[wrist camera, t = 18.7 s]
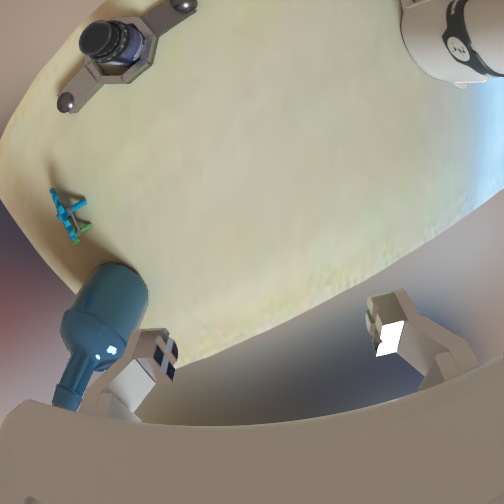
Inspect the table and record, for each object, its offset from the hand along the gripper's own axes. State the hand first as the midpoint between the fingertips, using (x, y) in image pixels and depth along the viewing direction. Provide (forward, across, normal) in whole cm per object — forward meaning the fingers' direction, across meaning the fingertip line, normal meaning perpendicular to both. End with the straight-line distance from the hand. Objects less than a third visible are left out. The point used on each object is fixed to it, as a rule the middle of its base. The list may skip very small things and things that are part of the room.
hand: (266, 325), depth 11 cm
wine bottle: (+32, +32, +20) cm, 49 cm away
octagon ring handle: (+34, +16, -20) cm, 42 cm away
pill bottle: (+34, +14, -20) cm, 42 cm away
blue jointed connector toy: (+32, +34, +2) cm, 47 cm away
